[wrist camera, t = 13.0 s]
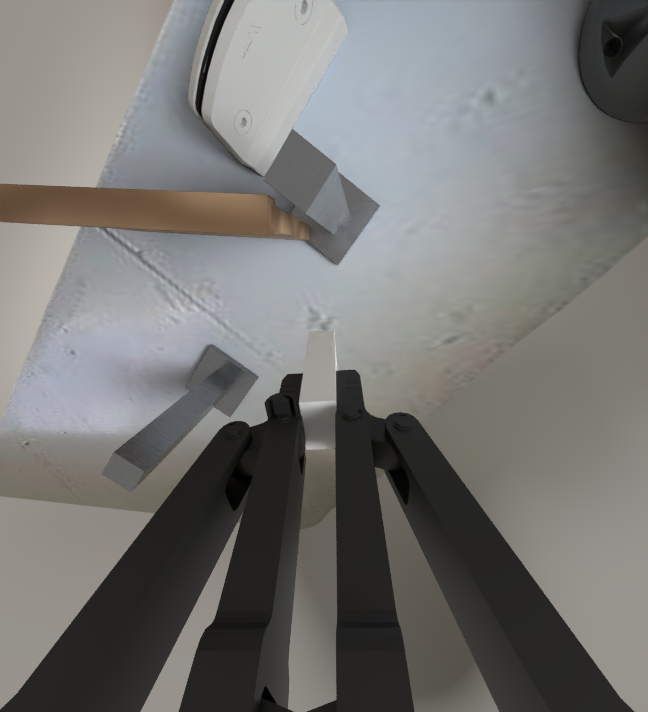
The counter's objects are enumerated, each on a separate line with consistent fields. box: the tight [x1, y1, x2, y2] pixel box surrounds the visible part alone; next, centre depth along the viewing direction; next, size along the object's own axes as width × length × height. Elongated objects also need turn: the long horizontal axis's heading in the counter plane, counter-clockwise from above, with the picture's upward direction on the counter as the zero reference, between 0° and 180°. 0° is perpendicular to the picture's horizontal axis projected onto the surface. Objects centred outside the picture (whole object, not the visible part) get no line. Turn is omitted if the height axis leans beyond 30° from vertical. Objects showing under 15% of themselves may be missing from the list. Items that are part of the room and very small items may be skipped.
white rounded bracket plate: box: [188, 0, 349, 177], centre depth 28 cm, size 17×5×10 cm, turn 142°
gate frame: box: [102, 129, 380, 492], centre depth 31 cm, size 8×36×20 cm, turn 144°
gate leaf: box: [0, 184, 310, 240], centre depth 28 cm, size 3×22×17 cm, turn 87°
